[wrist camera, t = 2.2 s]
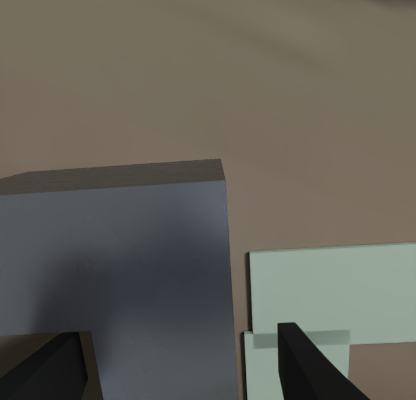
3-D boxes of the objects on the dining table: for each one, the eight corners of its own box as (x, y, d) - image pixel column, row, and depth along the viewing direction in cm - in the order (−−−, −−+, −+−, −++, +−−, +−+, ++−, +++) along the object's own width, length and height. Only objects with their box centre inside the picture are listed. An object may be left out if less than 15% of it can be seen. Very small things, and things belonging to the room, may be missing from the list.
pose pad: (486, 238, 13) (491, 239, 12) (459, 405, 15) (463, 409, 15) (240, 252, 13) (240, 253, 13) (247, 413, 15) (248, 417, 15)
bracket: (232, 347, 14) (242, 462, 9) (67, 355, 15) (-6, 470, 10) (220, 158, 12) (225, 180, 7) (27, 171, 12) (-92, 201, 8)
